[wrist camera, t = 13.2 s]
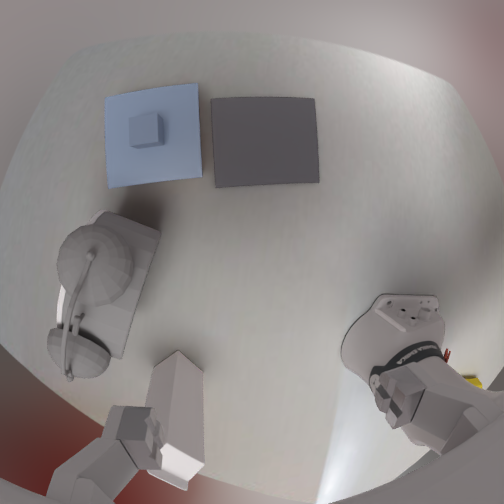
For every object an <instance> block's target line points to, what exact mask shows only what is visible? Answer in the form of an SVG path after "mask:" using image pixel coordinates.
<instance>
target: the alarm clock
mask: <svg viewBox="0 0 504 504" xmlns="http://www.w3.org/2000/svg"><path fill="white" fill-rule="evenodd" d="M160 237H161V232H160V231H158V230H155V229H153V228H150V227H148V226H145V225H143V224H140V223H137V222H135V221H132V220H130V219H127V218H125V217H122V216H120V215H117V214H115V213H112V212H109V211H107V210H99V211H98V212H97V213H96V214H95V215H94V216H93V217H92V218H91V219H90V221H89V222H88V224H87V225H85V226H81V227H79V228H78V229H76V230H75V231H73V232H72V233H71V234H69V235H68V236H67V238H66V239H65V241H64V242H63V244H62V246H61V247H60V251H59V256H58V261H57V270H58V276H59V281H60V283H61V289H60V294H59V299H58V306H57V328H54V329H50V332H49V335H48V341H47V349H48V352H49V355H50V356H51V358H52V360H53V361H54V362H55V363H56V364H57V366H58V367H59V368H60V369H61V374H63V375H65V376H67V377H66V378H67V381H68V382H71V381H73V379H74V376H75V377H79V378H94V377H98V376H99V375H101V374H102V373H104V372H105V370H106V369H107V367H108V366H109V363H110V359H111V357H114V358H117V359H122V357H123V353H124V349H125V345H126V342H127V338H128V335H129V331H130V327H131V324H132V321H133V317H134V314H135V310H136V307H137V304H138V301H139V298H140V294H141V291H142V288H143V285H144V282H145V279H146V276H147V273H148V270H149V267H150V264H151V261H152V259H153V256H154V253H155V250H156V247H157V245H158V242H159V239H160ZM110 356H111V357H110Z"/></svg>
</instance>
